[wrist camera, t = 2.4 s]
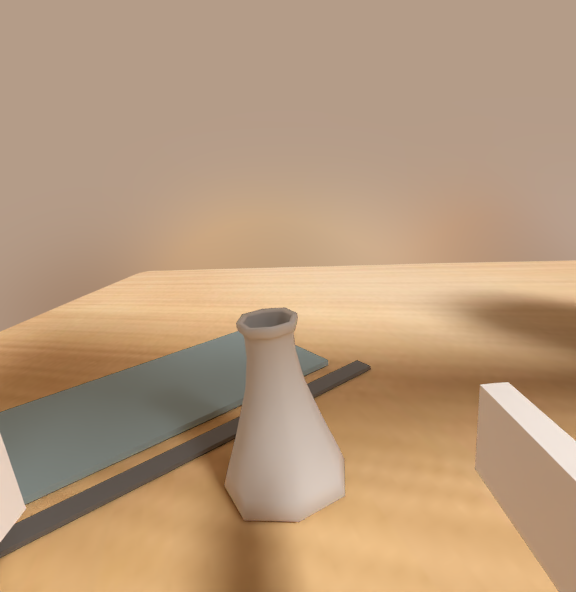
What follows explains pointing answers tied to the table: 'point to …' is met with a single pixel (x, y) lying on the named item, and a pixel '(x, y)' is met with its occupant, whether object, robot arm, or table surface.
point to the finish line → (145, 472)
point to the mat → (125, 413)
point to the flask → (280, 430)
